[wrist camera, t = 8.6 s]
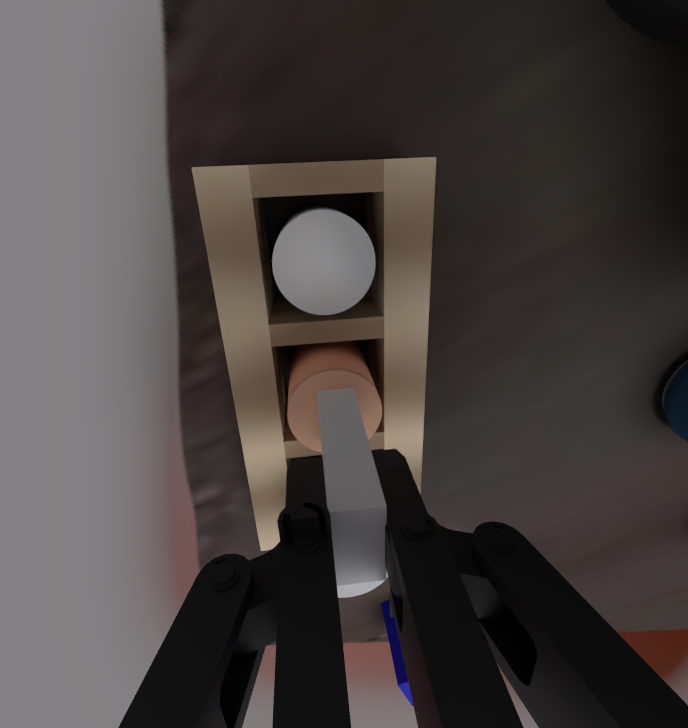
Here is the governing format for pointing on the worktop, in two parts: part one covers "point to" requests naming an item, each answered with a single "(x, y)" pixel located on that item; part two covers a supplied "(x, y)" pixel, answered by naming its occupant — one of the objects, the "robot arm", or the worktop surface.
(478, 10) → the worktop surface
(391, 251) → the button block
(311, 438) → the plunger mid
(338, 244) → the plunger
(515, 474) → the worktop surface
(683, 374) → the soda can
